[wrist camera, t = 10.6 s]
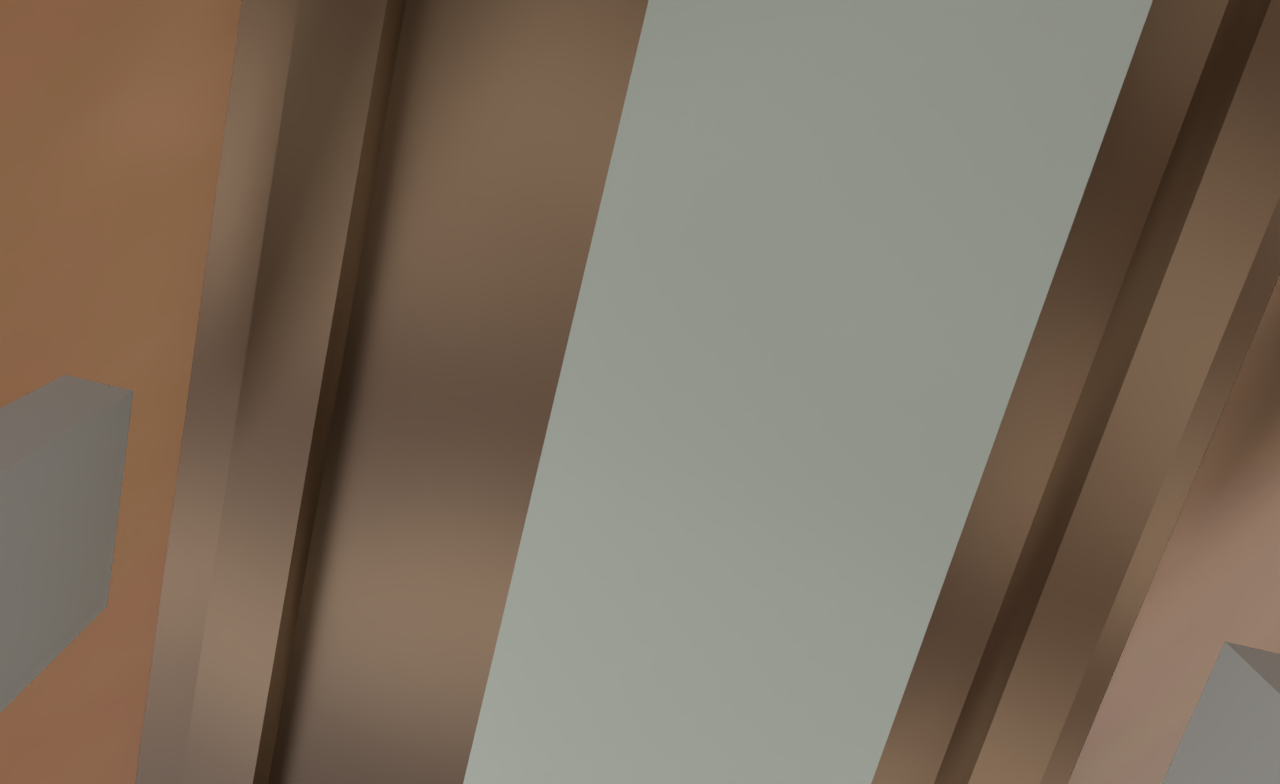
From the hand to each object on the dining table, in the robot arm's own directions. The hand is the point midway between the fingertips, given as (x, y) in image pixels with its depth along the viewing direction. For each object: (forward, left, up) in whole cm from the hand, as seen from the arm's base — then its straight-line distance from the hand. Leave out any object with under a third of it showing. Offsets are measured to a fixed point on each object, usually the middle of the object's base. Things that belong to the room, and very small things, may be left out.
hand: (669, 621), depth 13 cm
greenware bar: (0, 0, -3) cm, 3 cm away
